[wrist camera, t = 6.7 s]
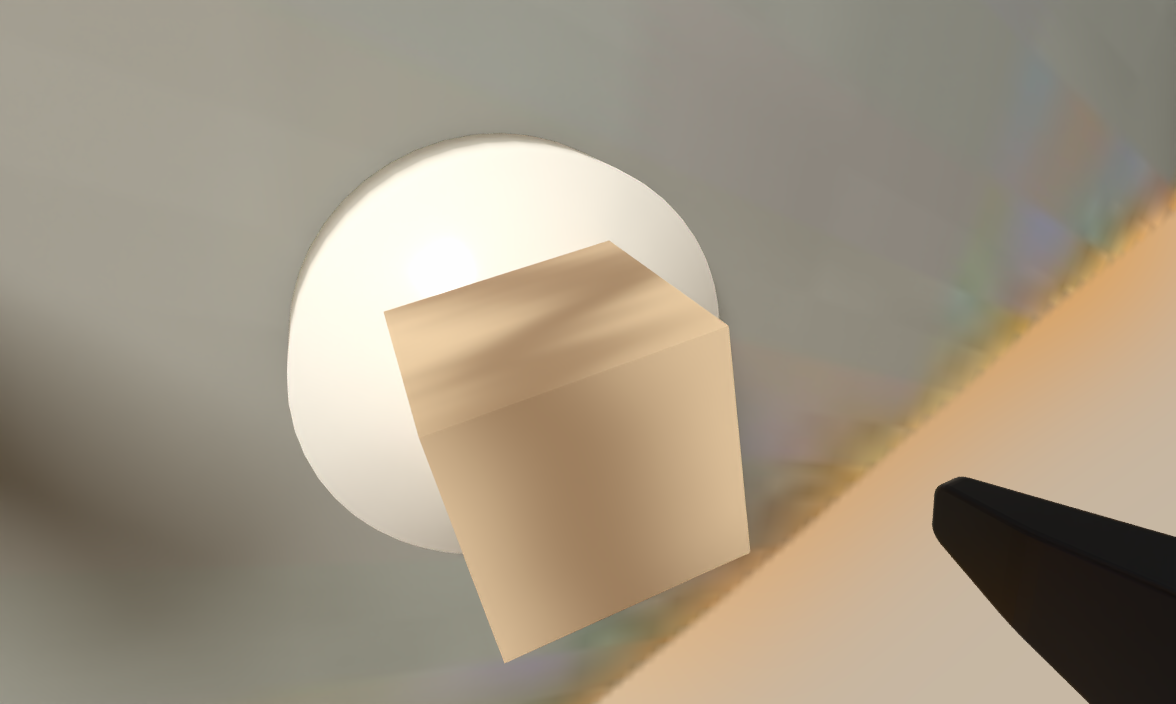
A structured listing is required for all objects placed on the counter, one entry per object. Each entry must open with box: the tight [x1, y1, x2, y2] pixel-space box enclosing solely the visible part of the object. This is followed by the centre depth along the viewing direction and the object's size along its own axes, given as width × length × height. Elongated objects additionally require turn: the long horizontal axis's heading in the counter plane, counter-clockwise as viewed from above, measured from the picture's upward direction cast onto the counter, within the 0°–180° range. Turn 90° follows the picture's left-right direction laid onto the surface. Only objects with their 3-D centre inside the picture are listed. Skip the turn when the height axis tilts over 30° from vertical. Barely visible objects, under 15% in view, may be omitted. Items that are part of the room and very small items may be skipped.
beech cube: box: [384, 241, 750, 663], centre depth 14 cm, size 5×5×5 cm
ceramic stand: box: [287, 133, 719, 554], centre depth 17 cm, size 10×10×2 cm
